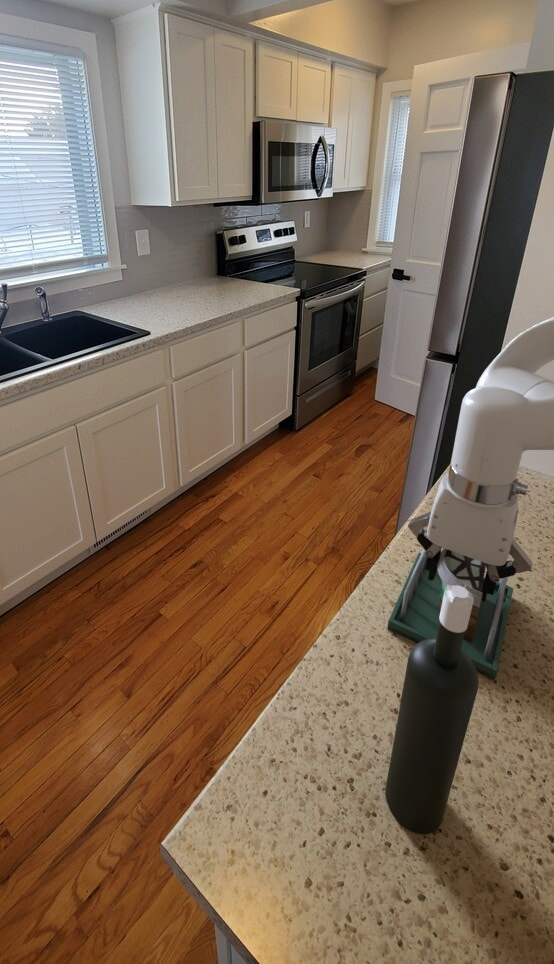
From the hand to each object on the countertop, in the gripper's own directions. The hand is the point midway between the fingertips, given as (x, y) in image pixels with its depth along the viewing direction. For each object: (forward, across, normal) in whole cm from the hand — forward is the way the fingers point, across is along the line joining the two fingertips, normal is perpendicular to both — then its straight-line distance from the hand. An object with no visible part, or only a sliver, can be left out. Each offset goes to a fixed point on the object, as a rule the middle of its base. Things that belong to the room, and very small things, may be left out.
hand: (457, 583), depth 70 cm
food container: (+5, 0, 0) cm, 5 cm away
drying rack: (+6, 0, 0) cm, 6 cm away
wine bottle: (+6, -2, +27) cm, 28 cm away
